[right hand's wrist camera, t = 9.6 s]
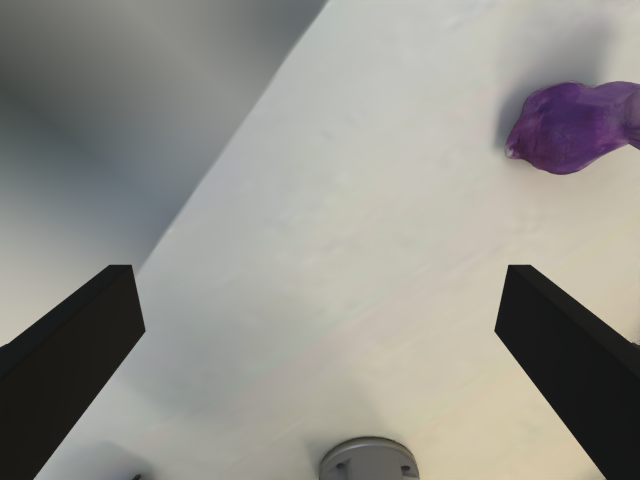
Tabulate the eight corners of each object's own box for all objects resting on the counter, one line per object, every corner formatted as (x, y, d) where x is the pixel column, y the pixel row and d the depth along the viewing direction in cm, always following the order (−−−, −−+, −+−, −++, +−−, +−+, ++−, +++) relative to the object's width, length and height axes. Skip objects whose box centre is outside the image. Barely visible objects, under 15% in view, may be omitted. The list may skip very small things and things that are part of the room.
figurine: (626, 79, 35) (833, 66, 21) (571, 179, 38) (715, 225, 24) (539, 49, 34) (694, 14, 20) (491, 154, 37) (593, 188, 23)
